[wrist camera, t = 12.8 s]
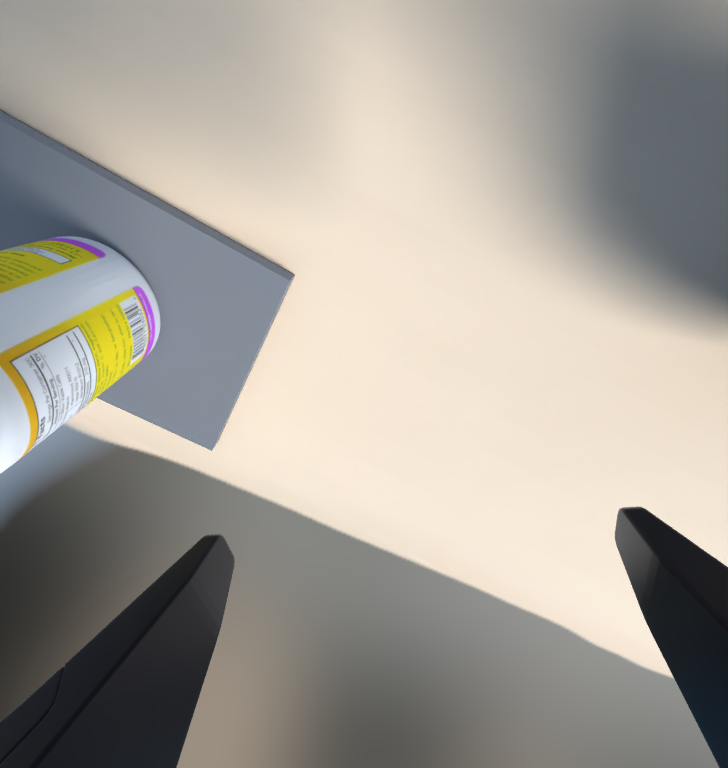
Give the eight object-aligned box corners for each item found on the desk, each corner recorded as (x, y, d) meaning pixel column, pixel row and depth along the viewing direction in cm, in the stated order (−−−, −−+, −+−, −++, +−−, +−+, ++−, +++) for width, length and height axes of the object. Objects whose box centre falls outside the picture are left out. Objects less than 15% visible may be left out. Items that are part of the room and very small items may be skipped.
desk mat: (294, 274, 20) (289, 280, 19) (218, 440, 25) (211, 450, 25) (-48, 83, 17) (-73, 79, 16) (-48, 316, 23) (-66, 322, 22)
